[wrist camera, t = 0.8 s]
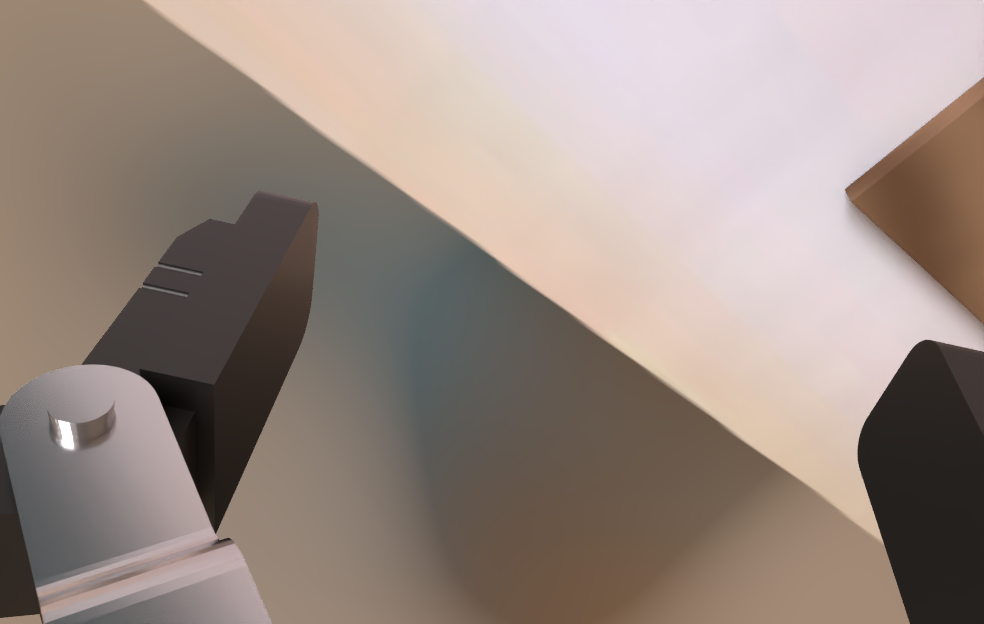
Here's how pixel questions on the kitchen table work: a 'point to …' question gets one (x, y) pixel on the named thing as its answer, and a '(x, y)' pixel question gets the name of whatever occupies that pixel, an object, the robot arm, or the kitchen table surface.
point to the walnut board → (936, 197)
